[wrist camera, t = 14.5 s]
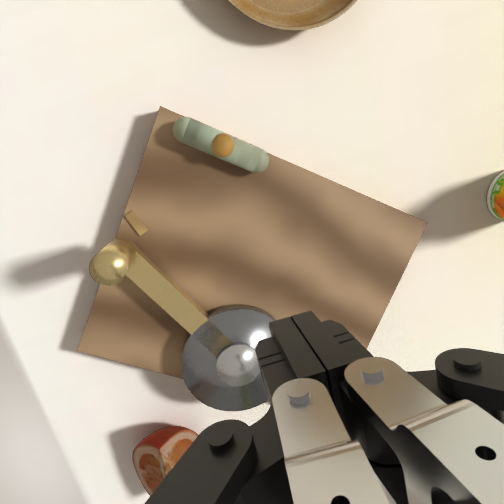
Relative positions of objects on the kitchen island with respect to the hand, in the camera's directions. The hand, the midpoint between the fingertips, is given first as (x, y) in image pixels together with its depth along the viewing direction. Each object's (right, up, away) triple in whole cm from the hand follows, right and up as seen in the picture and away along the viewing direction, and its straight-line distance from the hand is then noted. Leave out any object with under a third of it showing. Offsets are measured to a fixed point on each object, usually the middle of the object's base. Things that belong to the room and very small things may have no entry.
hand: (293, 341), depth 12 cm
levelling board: (-1, +1, +23) cm, 23 cm away
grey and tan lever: (-6, -3, +20) cm, 21 cm away
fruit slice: (-10, -17, +26) cm, 33 cm away
